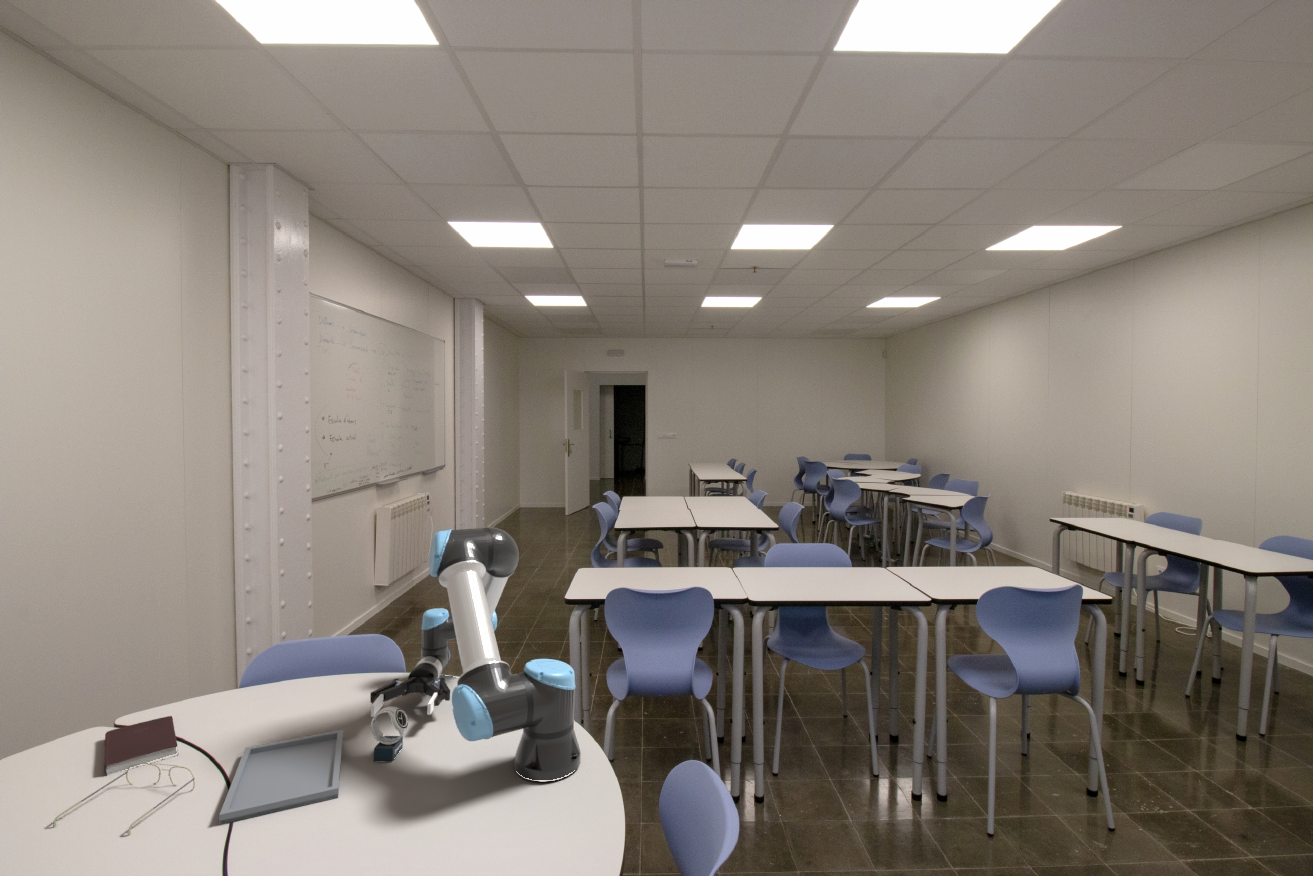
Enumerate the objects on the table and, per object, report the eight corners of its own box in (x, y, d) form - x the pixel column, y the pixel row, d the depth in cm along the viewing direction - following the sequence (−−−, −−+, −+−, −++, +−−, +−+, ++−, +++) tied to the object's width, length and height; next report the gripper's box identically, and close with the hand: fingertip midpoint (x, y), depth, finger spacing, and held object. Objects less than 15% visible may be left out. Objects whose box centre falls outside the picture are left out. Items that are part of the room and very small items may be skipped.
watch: (401, 762, 132) (402, 714, 132) (366, 761, 132) (367, 714, 132) (410, 748, 138) (411, 703, 138) (377, 748, 137) (378, 703, 137)
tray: (338, 797, 119) (338, 788, 119) (219, 825, 110) (219, 814, 110) (342, 737, 142) (343, 729, 142) (245, 756, 133) (245, 747, 133)
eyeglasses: (200, 789, 121) (200, 766, 121) (128, 838, 106) (129, 812, 106) (132, 783, 123) (132, 760, 123) (52, 830, 108) (52, 804, 108)
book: (103, 779, 124) (103, 764, 124) (105, 743, 138) (105, 729, 138) (178, 758, 132) (178, 744, 132) (172, 726, 146) (173, 713, 146)
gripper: (469, 687, 166) (451, 723, 145) (379, 689, 163) (348, 727, 142) (469, 661, 166) (452, 694, 145) (380, 663, 163) (349, 697, 142)
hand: (400, 710), depth 143 cm, fingers open, 13 cm apart
